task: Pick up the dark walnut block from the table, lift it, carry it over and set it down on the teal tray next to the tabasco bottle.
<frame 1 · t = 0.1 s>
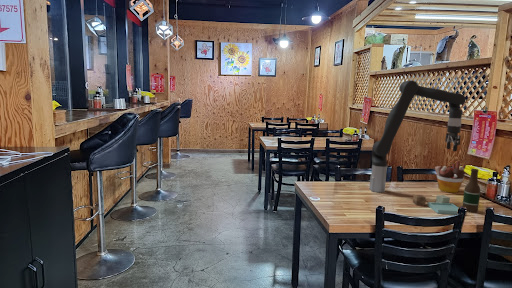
hand: (451, 150, 225), 29 cm above the table, tool pointing down, fingers open, 8 cm apart
walnut block: (418, 204, 206), on the table
sage block: (442, 204, 206), on the table
bucket of meat: (448, 191, 237), on the table
teal tray: (445, 209, 196), on the table
beer bottle: (469, 210, 196), on the table
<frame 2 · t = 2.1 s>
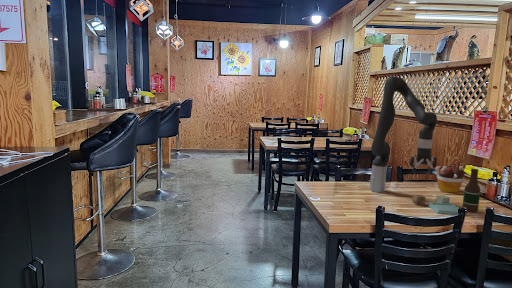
hand: (422, 174, 203), 18 cm above the table, tool pointing down, fingers open, 8 cm apart
nothing on the table moved.
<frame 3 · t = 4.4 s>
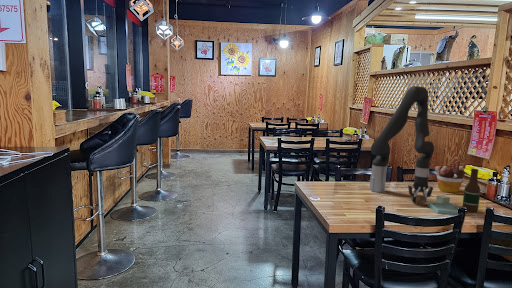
hand: (418, 202, 206), 1 cm above the table, tool pointing down, fingers closed on walnut block, 5 cm apart
walnut block: (418, 204, 206), on the table, touching gripper
everything else where it was.
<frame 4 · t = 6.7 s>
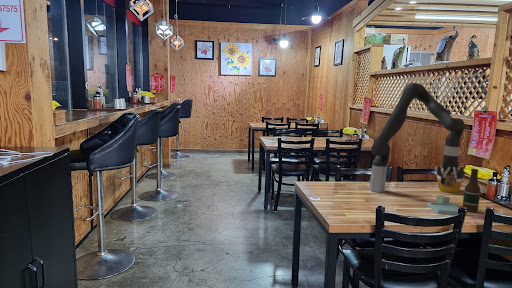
hand: (447, 184, 194), 15 cm above the table, tool pointing down, fingers closed on walnut block, 5 cm apart
walnut block: (447, 185, 194), point 14 cm above the table, touching gripper
everything else where it was.
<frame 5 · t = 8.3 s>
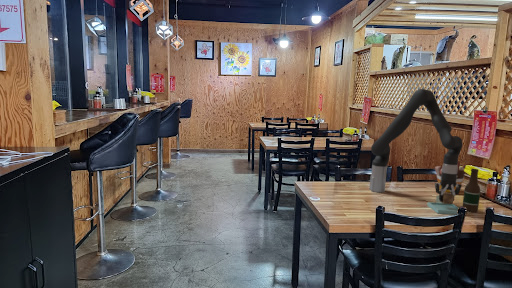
hand: (446, 201, 195), 5 cm above the table, tool pointing down, fingers closed on walnut block, 5 cm apart
walnut block: (446, 202, 195), point 4 cm above the table, touching gripper
everything else where it was.
when the fingers open (3 cm above the table, at t = 9.2 s): walnut block drops 1 cm, resting on teal tray.
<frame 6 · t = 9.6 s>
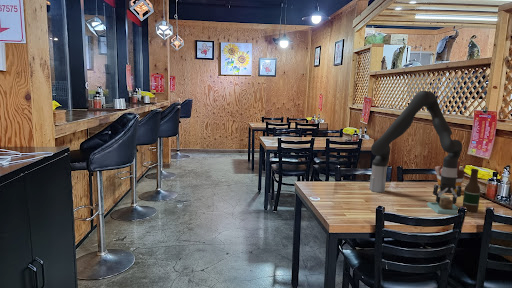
hand: (445, 203, 195), 4 cm above the table, tool pointing down, fingers open, 8 cm apart
walnut block: (445, 207, 196), point 1 cm above the table, touching teal tray
everything else where it was.
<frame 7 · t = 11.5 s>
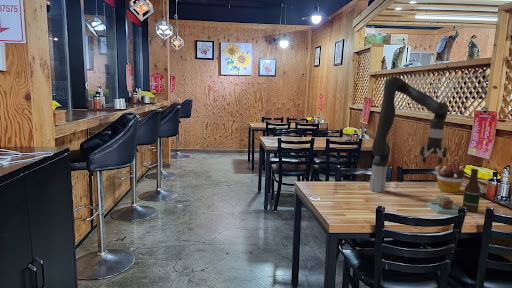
hand: (431, 163, 206), 24 cm above the table, tool pointing down, fingers open, 8 cm apart
nothing on the table moved.
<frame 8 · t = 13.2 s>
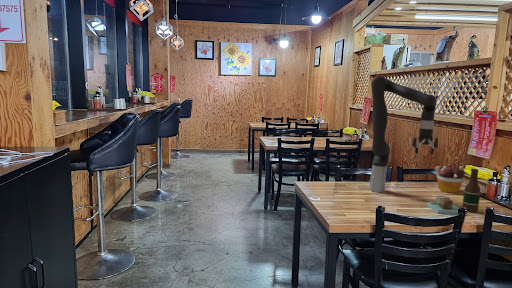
hand: (423, 154, 213), 28 cm above the table, tool pointing down, fingers open, 8 cm apart
nothing on the table moved.
at the end: walnut block inside the target area on the teal tray (0.0 cm from its centre), point 1.2 cm above the teal tray's base; walnut block tilted 0°; the gripper is holding nothing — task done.
